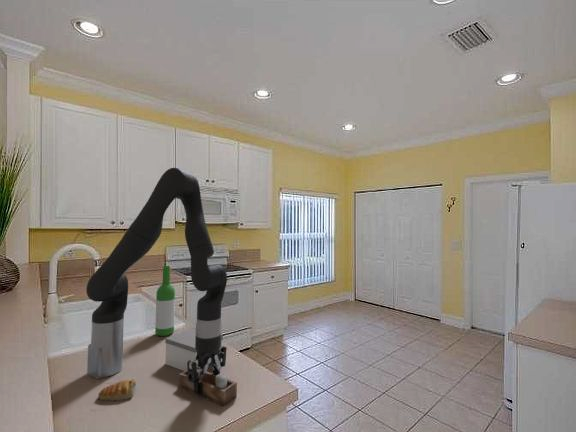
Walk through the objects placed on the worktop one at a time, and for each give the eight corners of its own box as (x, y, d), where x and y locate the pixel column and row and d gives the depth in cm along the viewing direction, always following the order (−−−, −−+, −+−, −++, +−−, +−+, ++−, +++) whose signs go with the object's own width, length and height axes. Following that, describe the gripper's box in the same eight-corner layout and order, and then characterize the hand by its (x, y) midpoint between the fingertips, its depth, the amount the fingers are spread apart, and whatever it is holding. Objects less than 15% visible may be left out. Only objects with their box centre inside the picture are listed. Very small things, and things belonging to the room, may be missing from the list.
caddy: (236, 396, 88) (237, 375, 88) (223, 406, 83) (223, 384, 83) (192, 379, 97) (193, 360, 97) (178, 387, 92) (179, 367, 92)
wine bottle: (169, 329, 140) (171, 264, 140) (176, 333, 134) (178, 266, 135) (152, 333, 134) (154, 266, 135) (159, 338, 129) (161, 268, 129)
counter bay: (194, 375, 99) (195, 348, 99) (164, 364, 106) (165, 338, 106) (222, 360, 110) (222, 335, 110) (193, 350, 118) (193, 327, 118)
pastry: (95, 405, 82) (96, 391, 82) (101, 392, 89) (101, 379, 89) (134, 399, 86) (134, 385, 86) (136, 387, 92) (137, 374, 92)
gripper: (199, 343, 82) (198, 405, 82) (234, 327, 94) (232, 381, 94) (180, 337, 86) (179, 396, 86) (216, 323, 98) (215, 374, 98)
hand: (207, 388), depth 90 cm, fingers open, 6 cm apart
